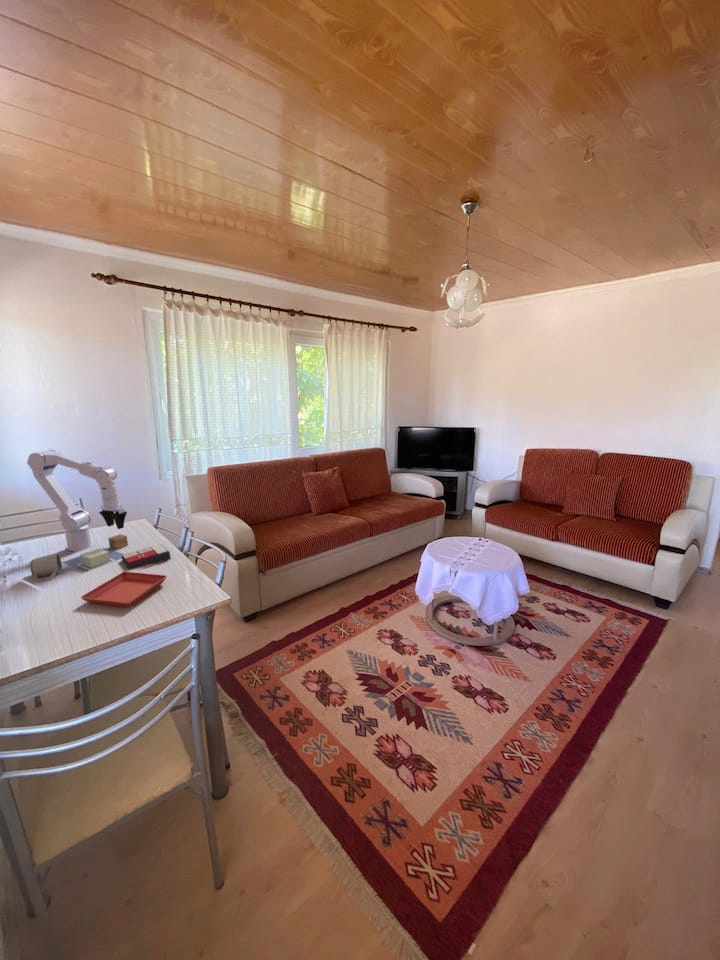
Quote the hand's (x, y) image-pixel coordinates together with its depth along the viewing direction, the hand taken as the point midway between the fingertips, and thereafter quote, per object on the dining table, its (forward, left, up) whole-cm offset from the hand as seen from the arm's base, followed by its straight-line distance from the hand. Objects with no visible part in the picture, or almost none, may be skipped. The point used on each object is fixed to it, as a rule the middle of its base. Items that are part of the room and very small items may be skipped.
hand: (115, 527), depth 166 cm
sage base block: (+9, -14, -9) cm, 19 cm away
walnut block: (0, 0, -10) cm, 10 cm away
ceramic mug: (+4, -28, -10) cm, 30 cm away
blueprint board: (+5, -12, -10) cm, 16 cm away
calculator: (+24, -3, -10) cm, 26 cm away
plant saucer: (+43, -22, -10) cm, 49 cm away
